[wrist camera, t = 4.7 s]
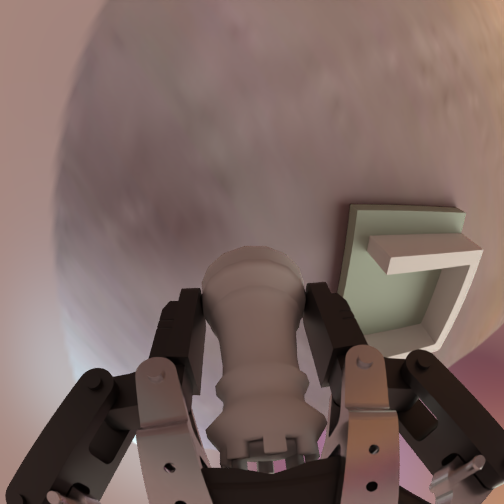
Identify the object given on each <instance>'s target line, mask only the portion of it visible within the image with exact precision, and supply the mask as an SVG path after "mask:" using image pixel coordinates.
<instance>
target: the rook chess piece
mask: <svg viewBox="0 0 504 504" xmlns="http://www.w3.org/2000/svg"><path fill="white" fill-rule="evenodd" d="M303 284H304V282H303V279H302V276H301V273H300V270H299V267H298V266H297V265H296V264H295V263H294V262H293V261H292V260H291V259H290V258H289V257H288V256H287V255H286V254H284V253H282V252H279V251H277V250H274V249H271V248H269V247H264V246H244V247H241V248H238V249H235V250H232V251H229V252H227V253H224V254H223V255H221V256H220V257H219V258H218V259H217V260H216V261H215V262H213V263H212V264H211V265H210V266H209V267H208V269H207V272H206V274H205V276H204V279H203V281H202V295H201V297H202V306H203V314H204V317H205V319H206V320H207V322H208V324H209V325H210V327H211V329H212V331H213V332H214V334H215V335H216V337H217V338H218V340H219V343H220V350H221V357H222V363H223V377H222V378H221V379H220V381H219V382H218V383H217V385H216V386H215V387H216V395H217V397H218V398H219V399H220V400H221V401H222V402H223V404H224V406H223V412H222V413H221V414H220V415H219V416H218V417H217V418H216V419H215V420H214V422H213V423H212V424H211V425H210V426H209V427H208V428H207V429H206V434H207V438H208V439H209V440H210V442H211V443H212V444H213V445H214V446H215V447H216V448H217V450H218V451H219V452H220V465H221V468H239V469H244V470H248V469H247V461H248V462H257V472H263V473H271V474H273V473H274V465H273V461H276V460H281V459H285V461H286V468H287V469H290V468H292V467H295V466H298V465H300V464H303V463H304V458H303V455H304V456H305V462H308V461H314V460H317V459H318V458H319V457H320V455H319V450H318V445H317V441H318V439H319V437H320V436H321V434H322V432H323V431H324V429H325V427H326V425H327V421H326V418H325V416H324V415H323V414H322V413H320V412H319V411H317V410H316V409H314V408H313V407H312V406H310V405H309V404H307V403H306V402H305V400H304V394H305V393H306V391H307V388H308V386H309V380H308V378H307V375H306V374H305V373H303V372H302V371H300V369H299V365H298V360H297V343H296V331H297V329H298V328H299V324H300V320H301V318H302V317H303V313H304V308H305V303H306V293H305V289H304V286H303Z"/></svg>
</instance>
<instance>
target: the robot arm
mask: <svg viewBox="0 0 504 504" xmlns="http://www.w3.org/2000/svg"><path fill="white" fill-rule="evenodd" d="M354 317H355V316H354V314H353V312H352V311H351V308H350V306H349V304H348V302H347V300H345V299H344V298H343V297H342V296H341V295H340V294H338V293H334V294H331V292H330V290H329V288H328V286H327V284H326V282H319V283H308V284H307V286H306V303H305V308H304V313H303V323H304V327H305V331H306V334H307V338H308V341H309V345H310V349H311V352H312V356H313V359H314V363H315V367H316V370H317V374H318V378H319V381H320V385H321V388H322V387H328V386H330V389H331V396H330V399H329V410H328V421H327V430H326V439H325V443H324V447H323V450H322V454H321V459H320V460H314V461H308V462H306V463H303V464H300V465H298V466H295V467H292V468H290V469H287V470H284V471H281V472H278V473H273V474H271V473H263V472H255V471H249V470H244V469H239V468H211V466H210V463H209V460H208V458H207V455H206V453H205V450H204V448H203V444H202V441H201V438H200V435H199V431H198V428H197V425H196V421H195V418H194V414H193V410H192V407H191V405H192V395H200V390H201V377H202V365H203V353H204V342H205V332H206V321H205V317H204V314H203V306H202V297H201V290H200V288H186V289H181V293H180V297H179V301H170V302H169V303H168V304H167V305H166V306H165V307H164V308H163V309H162V313H161V316H160V321H159V323H158V326H157V327H158V329H157V330H156V334H155V337H154V341H153V344H152V348H151V352H150V356H149V359H147V360H145V361H144V362H142V363H141V364H140V365H139V366H138V368H137V370H136V372H134V373H130V374H126V375H121V376H115V377H112V375H111V374H110V373H109V372H108V371H107V370H105V369H102V368H94V369H91V370H88V371H87V372H85V373H84V374H83V375H82V376H81V377H80V379H79V380H78V381H77V383H76V384H75V386H74V387H73V388H72V390H71V391H70V392H69V394H68V395H67V396H66V398H65V399H64V401H63V402H62V403H61V405H60V406H59V408H58V409H57V411H56V412H55V413H54V415H53V416H52V418H51V419H50V421H49V422H48V424H47V425H46V427H45V428H44V429H43V431H42V433H41V434H40V436H39V437H38V439H37V440H36V442H35V443H34V445H33V446H32V448H31V449H30V451H29V452H28V454H27V456H26V457H25V459H24V460H23V462H22V464H21V465H20V467H19V469H18V470H17V472H16V474H15V476H14V477H13V479H12V481H11V482H10V484H9V486H8V488H7V490H6V502H7V504H100V502H99V501H100V499H101V497H102V496H103V494H104V492H105V490H106V488H107V486H108V484H109V482H110V481H111V479H112V477H113V475H114V473H115V471H116V469H117V468H118V466H119V464H120V462H121V460H122V458H123V457H124V455H125V453H126V451H127V449H128V447H129V446H130V444H131V442H132V440H133V438H134V436H135V435H136V440H137V446H138V452H139V458H140V463H141V469H142V474H143V478H144V483H145V487H146V492H147V495H148V500H149V503H150V504H431V503H429V502H427V501H425V500H423V499H422V498H420V497H418V496H416V495H415V494H412V493H411V492H409V491H408V490H406V489H404V488H403V487H401V486H399V466H400V463H399V462H400V456H399V433H400V434H401V435H402V437H403V438H404V439H405V440H406V442H407V443H408V444H409V446H410V447H411V448H412V449H413V450H414V452H415V453H416V455H417V456H418V457H419V458H420V460H421V461H422V462H423V463H424V465H425V466H426V467H427V469H428V470H429V471H430V472H431V474H432V475H433V478H432V483H431V484H430V487H429V489H430V491H431V492H432V493H434V494H435V497H436V503H435V504H481V503H482V502H483V501H484V500H485V499H486V497H487V496H488V495H489V494H490V492H491V491H492V490H493V489H494V488H496V487H498V486H500V485H502V484H503V483H504V430H503V428H502V427H501V426H500V425H499V424H498V423H497V421H496V420H495V419H494V418H493V417H492V416H491V415H490V414H489V412H488V411H487V410H486V409H485V408H484V407H483V406H482V405H481V404H480V403H479V402H478V401H477V399H476V398H475V397H474V396H473V395H472V394H471V393H470V392H469V391H468V390H467V389H466V388H465V386H464V385H463V384H462V383H461V382H460V381H459V380H458V379H457V378H456V377H455V376H454V375H453V374H452V373H451V372H450V371H449V370H448V369H447V368H446V367H445V366H444V365H443V364H442V363H441V362H440V361H439V360H438V359H437V358H436V357H435V356H434V355H433V354H432V353H430V352H428V351H426V350H422V349H417V350H413V351H411V352H410V353H409V354H408V355H407V357H406V359H398V358H387V357H383V355H382V354H381V352H380V351H379V350H377V349H376V348H374V347H372V346H369V345H368V343H367V341H366V339H365V337H364V335H363V333H362V331H361V329H360V327H359V325H358V322H357V320H356V318H354ZM419 398H420V399H421V400H422V402H423V403H424V404H425V405H426V406H427V407H428V408H429V409H430V411H431V412H432V413H433V414H434V415H435V416H436V418H437V419H436V418H435V417H434V416H433V415H432V414H431V413H430V411H429V410H428V409H427V408H426V407H425V406H424V405H423V403H422V402H421V401H420V400H419Z"/></svg>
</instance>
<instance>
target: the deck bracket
mask: <svg viewBox="0 0 504 504" xmlns="http://www.w3.org/2000/svg"><path fill="white" fill-rule="evenodd" d="M465 215H466V213H465V212H463V211H462V210H460V209H458V208H453V207H435V206H413V205H377V204H350V212H349V220H348V228H347V236H346V243H345V250H344V256H343V263H342V269H341V275H340V280H339V286H338V291H337V293H338V294H340V295H341V296H342V297H343V298H344V299H345V300H347V302H348V304H349V306H350V308H351V311H352V312H353V314H354V316H355V317H354V318H356V320H357V322H358V325H359V327H360V329H361V331H362V333H363V335H364V337H365V339H366V341H367V343H368V345H369V346H372V347H374V348H376V349H377V350H379V351H380V352H381V354H382V355H383V357H387V358H398V359H406V357H407V355H408V354H409V353H410V352H411V351H413V350H417V349H422V350H426V351H428V352H430V353H431V352H434V351H437V350H439V349H440V348H441V346H442V344H443V342H444V340H445V339H446V337H447V335H448V333H449V331H450V329H451V327H452V325H453V323H454V321H455V319H456V317H457V315H458V313H459V311H460V309H461V306H462V304H463V302H464V300H465V297H466V295H467V293H468V290H469V288H470V285H471V283H472V280H473V278H474V275H475V273H476V270H477V267H478V264H479V261H480V258H481V256H482V252H483V249H482V248H480V247H479V246H478V245H477V244H475V243H474V242H473V241H471V240H470V239H469V238H467V237H466V236H464V235H463V234H462V233H461V231H462V228H463V224H464V219H465Z"/></svg>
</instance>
